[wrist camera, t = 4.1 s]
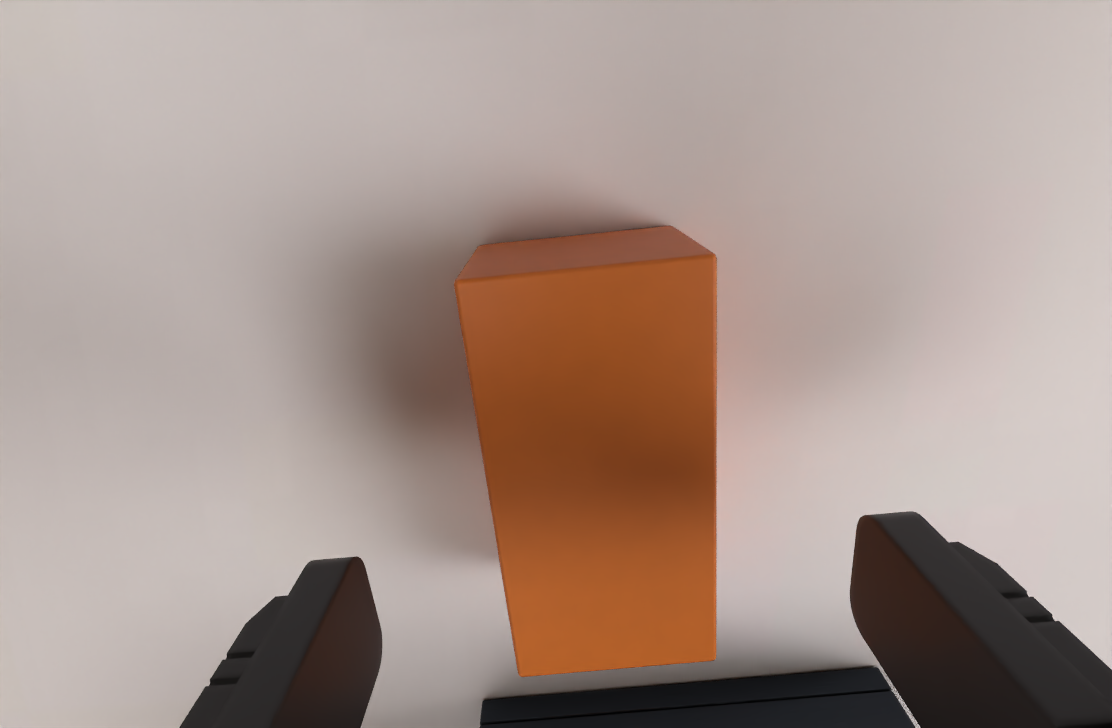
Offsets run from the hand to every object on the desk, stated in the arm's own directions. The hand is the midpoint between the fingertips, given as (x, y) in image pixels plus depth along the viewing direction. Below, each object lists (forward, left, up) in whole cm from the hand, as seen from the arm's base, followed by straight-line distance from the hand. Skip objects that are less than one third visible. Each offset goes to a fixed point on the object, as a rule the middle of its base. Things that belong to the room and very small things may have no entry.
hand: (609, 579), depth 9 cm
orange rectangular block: (0, 0, -6) cm, 6 cm away
